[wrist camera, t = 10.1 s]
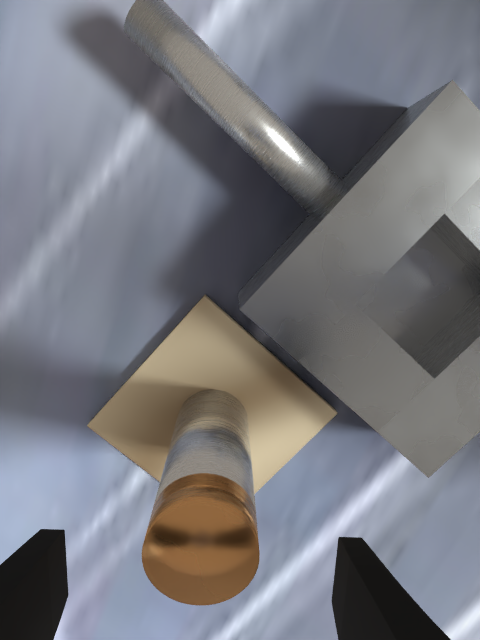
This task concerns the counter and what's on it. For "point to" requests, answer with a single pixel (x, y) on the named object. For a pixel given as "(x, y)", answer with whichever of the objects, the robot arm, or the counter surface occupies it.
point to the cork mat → (204, 374)
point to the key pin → (205, 505)
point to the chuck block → (362, 250)
